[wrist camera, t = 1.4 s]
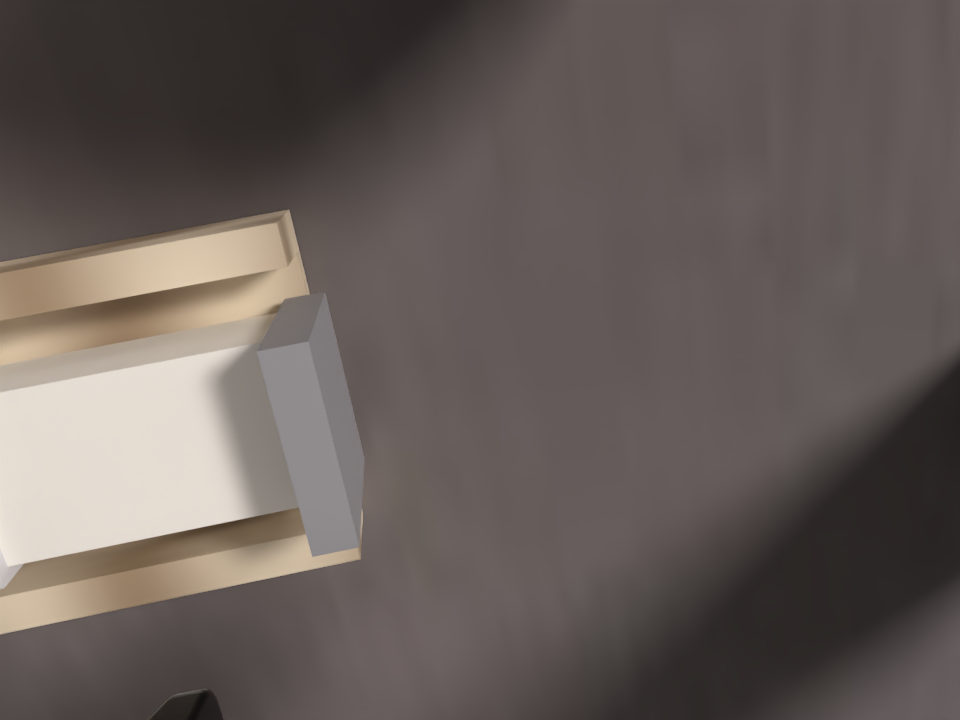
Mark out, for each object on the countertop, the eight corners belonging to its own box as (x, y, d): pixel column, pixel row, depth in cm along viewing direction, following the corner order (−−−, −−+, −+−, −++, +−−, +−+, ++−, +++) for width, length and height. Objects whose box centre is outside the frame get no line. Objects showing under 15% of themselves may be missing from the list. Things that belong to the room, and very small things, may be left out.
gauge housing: (289, 209, 20) (276, 222, 17) (363, 513, 22) (360, 559, 20) (-125, 284, 19) (-194, 308, 17) (2, 587, 22) (-42, 642, 20)
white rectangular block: (325, 291, 19) (308, 341, 15) (364, 459, 21) (359, 547, 17) (-41, 360, 19) (-161, 431, 15) (26, 527, 20) (-67, 635, 16)
